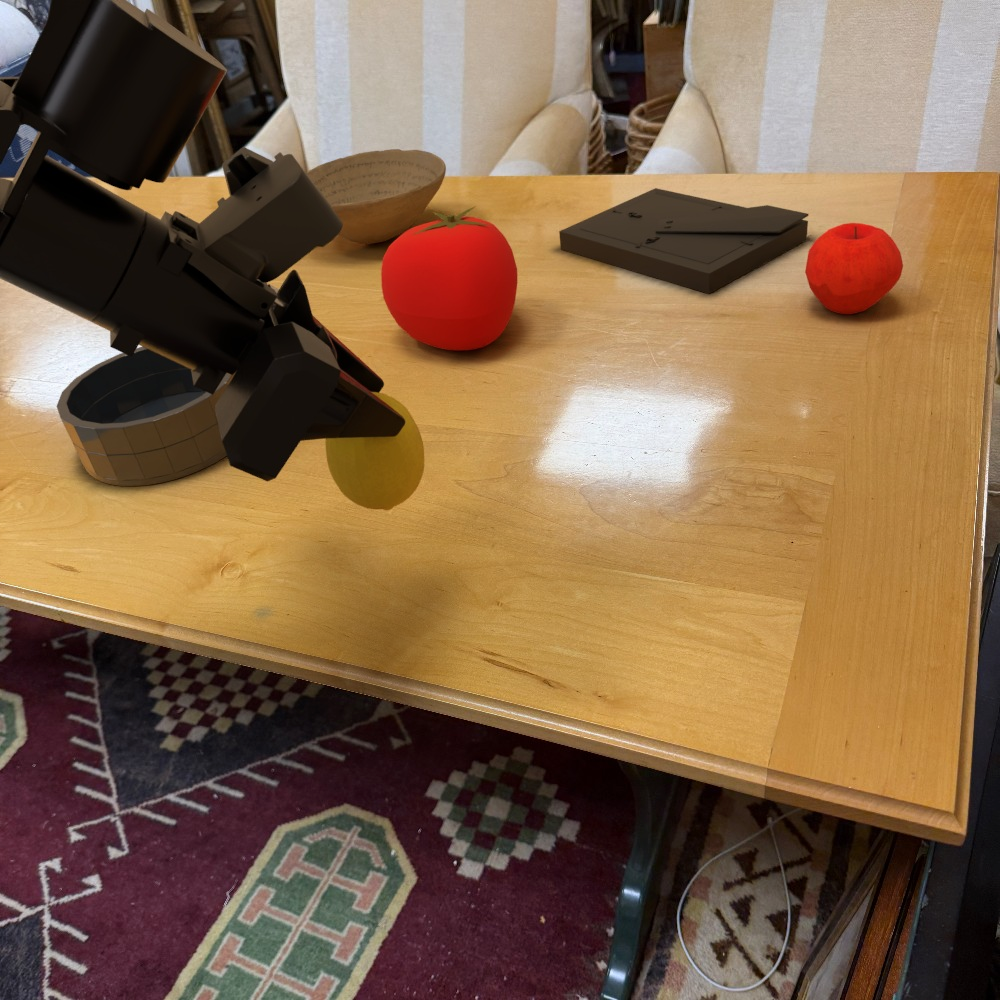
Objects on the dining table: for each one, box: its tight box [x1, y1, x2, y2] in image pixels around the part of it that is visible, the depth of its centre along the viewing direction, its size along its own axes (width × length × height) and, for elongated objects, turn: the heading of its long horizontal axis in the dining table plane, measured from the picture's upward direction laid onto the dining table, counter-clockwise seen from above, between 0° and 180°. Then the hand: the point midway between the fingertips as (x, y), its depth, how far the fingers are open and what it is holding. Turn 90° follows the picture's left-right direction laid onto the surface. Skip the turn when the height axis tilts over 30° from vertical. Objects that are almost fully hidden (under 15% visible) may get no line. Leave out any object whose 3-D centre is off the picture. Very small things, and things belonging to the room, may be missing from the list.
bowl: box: [305, 148, 447, 245], centre depth 109 cm, size 18×18×8 cm
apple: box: [804, 222, 904, 315], centre depth 80 cm, size 8×8×7 cm
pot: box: [56, 346, 235, 487], centre depth 77 cm, size 15×15×6 cm
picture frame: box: [558, 187, 810, 295], centre depth 97 cm, size 16×3×21 cm
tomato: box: [380, 205, 518, 352], centre depth 83 cm, size 12×14×11 cm
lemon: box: [325, 392, 425, 511], centre depth 52 cm, size 6×6×8 cm
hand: (390, 408), depth 51 cm, fingers closed on lemon, 4 cm apart
